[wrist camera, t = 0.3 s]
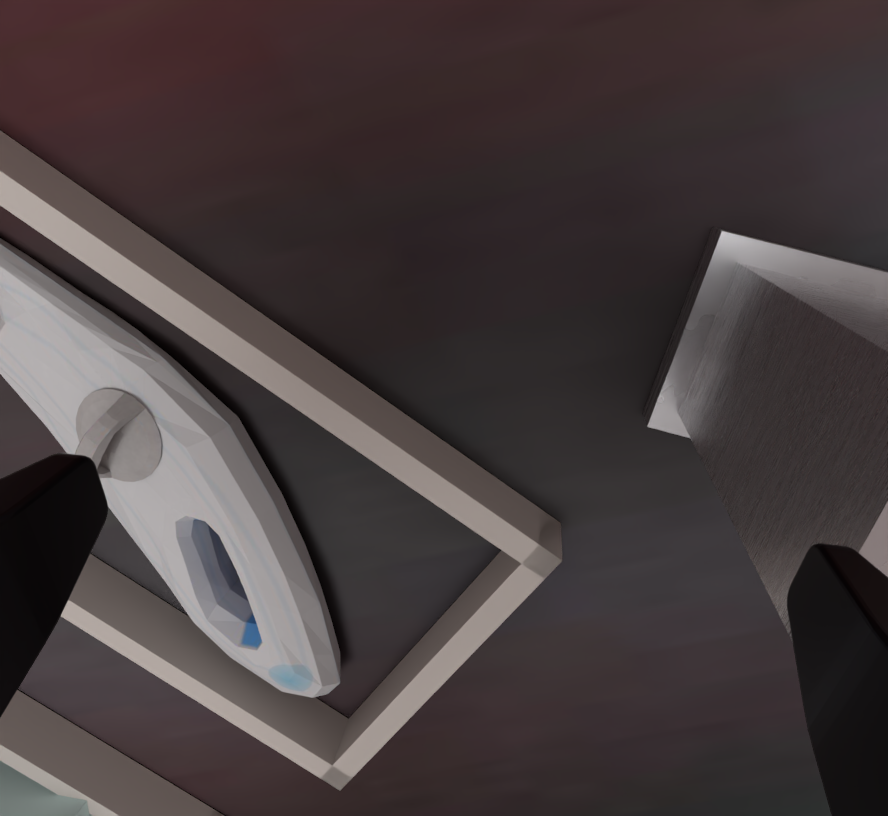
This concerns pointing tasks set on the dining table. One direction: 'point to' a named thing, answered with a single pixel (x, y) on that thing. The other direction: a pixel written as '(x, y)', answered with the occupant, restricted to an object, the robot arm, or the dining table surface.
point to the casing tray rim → (337, 410)
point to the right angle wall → (34, 797)
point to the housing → (784, 399)
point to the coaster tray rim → (86, 766)
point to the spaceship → (171, 475)
